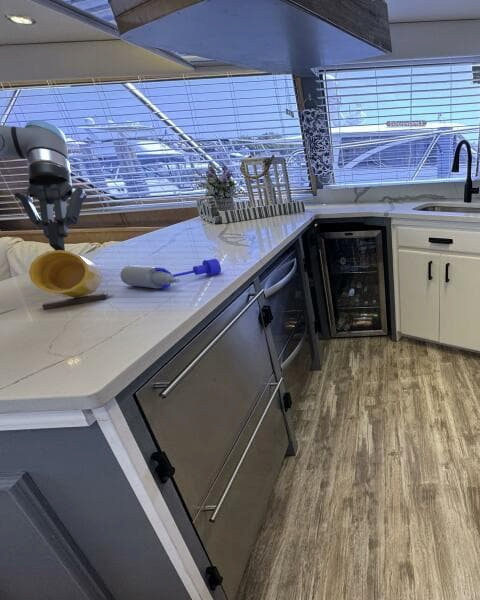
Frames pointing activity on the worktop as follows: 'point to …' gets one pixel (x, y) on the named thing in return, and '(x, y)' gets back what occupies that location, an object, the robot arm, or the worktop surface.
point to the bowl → (65, 274)
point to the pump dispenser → (163, 274)
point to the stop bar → (75, 300)
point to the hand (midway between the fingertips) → (57, 247)
